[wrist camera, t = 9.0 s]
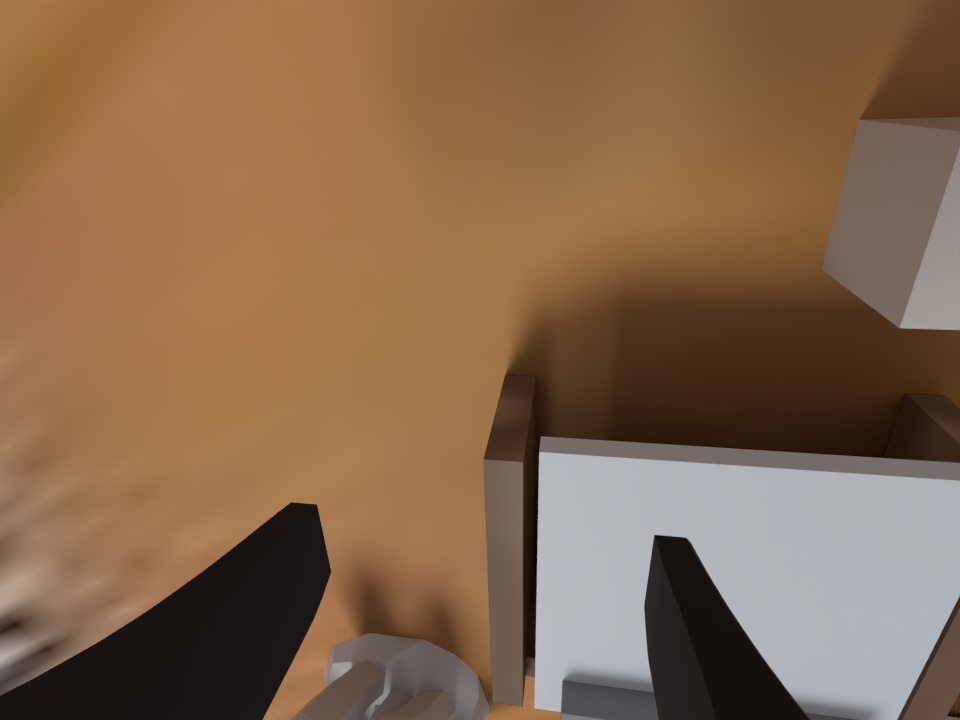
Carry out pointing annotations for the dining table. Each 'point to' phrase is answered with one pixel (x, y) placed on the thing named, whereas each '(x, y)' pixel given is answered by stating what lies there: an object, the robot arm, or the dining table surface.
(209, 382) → the dining table surface
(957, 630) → the frame
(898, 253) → the white block
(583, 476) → the trapdoor
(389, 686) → the crystal
